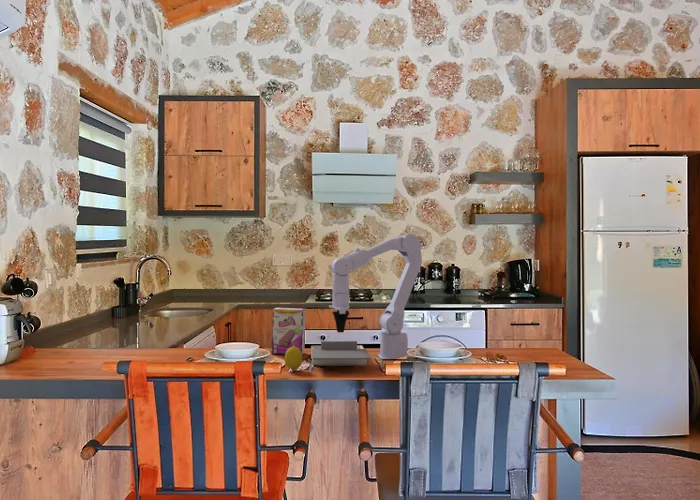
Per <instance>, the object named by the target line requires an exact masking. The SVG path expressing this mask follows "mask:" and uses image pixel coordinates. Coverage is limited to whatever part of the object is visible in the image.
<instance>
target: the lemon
mask: <svg viewBox="0 0 700 500" xmlns="http://www.w3.org/2000/svg"><path fill="white" fill-rule="evenodd" d="M284 363H285V365H286V366H287V367H286V368H288V369H290V370H292V372H295V371H296V370H297V369H299V368H300V367H301V365H302V364H303V354H302V352H301V350H300V349H299V348H297V347H295V346H292V347H290V348H289V349H288V350H287V351H286V354H285V356H284Z"/></svg>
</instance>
